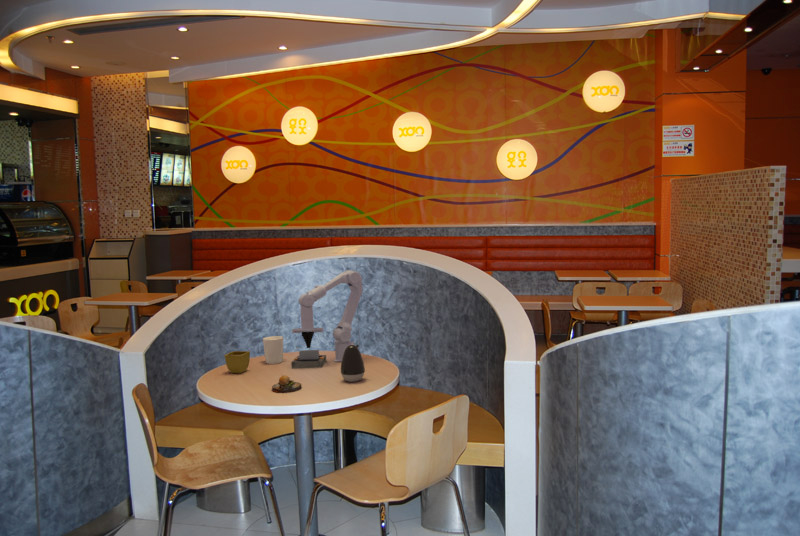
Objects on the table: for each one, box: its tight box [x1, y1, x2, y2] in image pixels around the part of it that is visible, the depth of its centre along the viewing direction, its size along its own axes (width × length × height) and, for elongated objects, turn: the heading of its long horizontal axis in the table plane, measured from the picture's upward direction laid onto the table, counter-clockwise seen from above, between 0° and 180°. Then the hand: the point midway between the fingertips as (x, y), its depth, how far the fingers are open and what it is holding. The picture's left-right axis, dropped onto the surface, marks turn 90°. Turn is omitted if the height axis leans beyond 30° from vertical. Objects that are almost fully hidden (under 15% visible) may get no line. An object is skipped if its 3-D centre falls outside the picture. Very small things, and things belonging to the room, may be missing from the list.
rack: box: [290, 354, 327, 369], centre depth 294 cm, size 14×14×3 cm
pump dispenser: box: [340, 344, 366, 383], centre depth 260 cm, size 10×10×15 cm
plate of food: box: [271, 374, 302, 394], centre depth 251 cm, size 12×12×8 cm
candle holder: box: [262, 335, 284, 365], centre depth 302 cm, size 10×10×12 cm
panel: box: [298, 349, 320, 359], centre depth 293 cm, size 9×2×6 cm, turn 88°
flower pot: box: [224, 350, 251, 374], centre depth 284 cm, size 9×9×9 cm
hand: (308, 347), depth 293 cm, fingers closed
